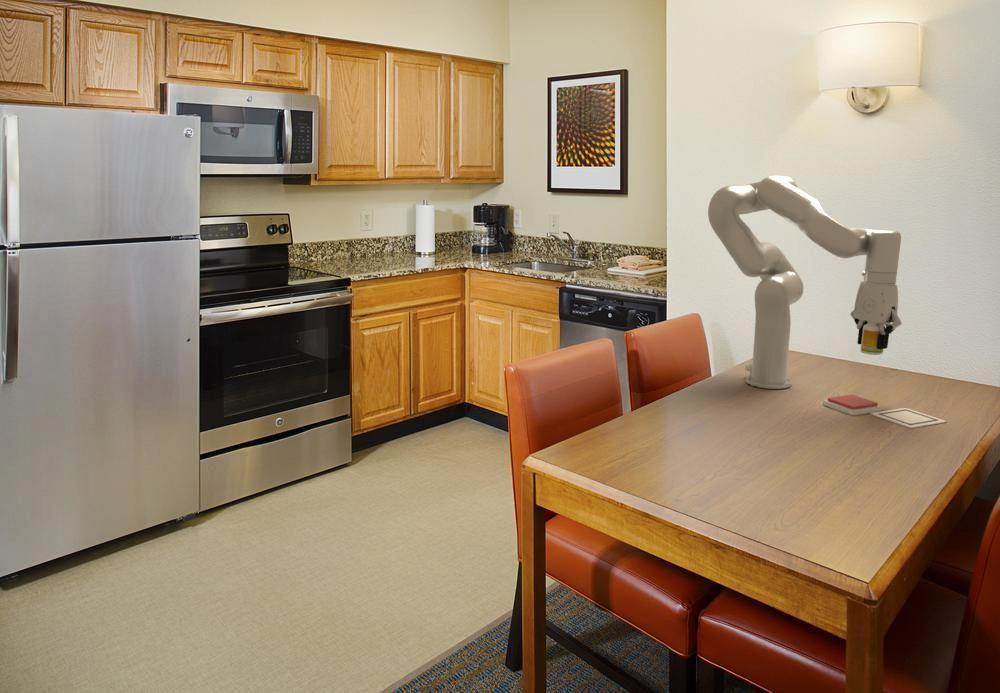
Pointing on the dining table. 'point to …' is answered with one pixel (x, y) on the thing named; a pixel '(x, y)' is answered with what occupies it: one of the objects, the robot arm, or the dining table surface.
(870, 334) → the supplement bottle
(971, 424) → the dining table surface
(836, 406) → the ink pad
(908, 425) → the marked sheet
